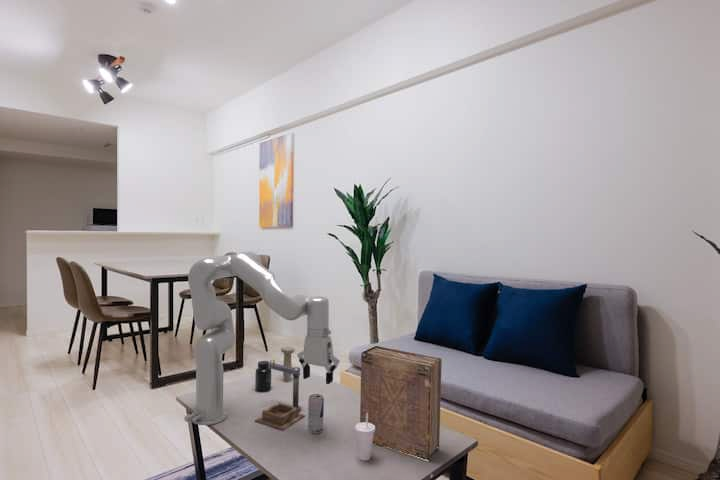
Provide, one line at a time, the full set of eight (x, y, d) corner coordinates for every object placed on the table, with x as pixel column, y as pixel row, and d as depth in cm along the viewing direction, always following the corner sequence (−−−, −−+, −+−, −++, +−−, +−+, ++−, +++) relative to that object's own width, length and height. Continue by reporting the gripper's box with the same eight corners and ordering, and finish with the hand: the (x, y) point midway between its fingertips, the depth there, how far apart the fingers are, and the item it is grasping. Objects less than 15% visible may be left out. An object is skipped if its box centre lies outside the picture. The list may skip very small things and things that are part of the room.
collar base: (282, 431, 144) (283, 392, 143) (254, 421, 150) (255, 384, 150) (312, 412, 159) (313, 377, 159) (286, 404, 165) (286, 370, 165)
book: (439, 449, 134) (442, 358, 133) (428, 462, 126) (431, 366, 125) (373, 428, 147) (374, 345, 146) (359, 438, 139) (361, 351, 139)
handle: (289, 383, 188) (289, 351, 187) (278, 380, 191) (279, 348, 191) (295, 380, 192) (296, 348, 192) (285, 377, 195) (285, 346, 195)
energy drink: (325, 428, 146) (326, 395, 146) (319, 435, 141) (319, 400, 141) (312, 425, 148) (312, 392, 148) (305, 432, 143) (305, 398, 143)
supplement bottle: (269, 385, 185) (269, 359, 184) (272, 391, 178) (272, 364, 178) (254, 387, 182) (254, 360, 182) (256, 393, 176) (256, 365, 175)
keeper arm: (301, 374, 160) (301, 366, 160) (296, 376, 158) (297, 368, 158) (272, 367, 168) (272, 359, 168) (267, 369, 165) (267, 361, 165)
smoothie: (368, 465, 124) (369, 419, 123) (350, 458, 127) (351, 414, 127) (378, 455, 129) (379, 411, 129) (361, 449, 133) (362, 406, 132)
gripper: (344, 332, 143) (344, 381, 143) (304, 327, 151) (304, 373, 152) (332, 337, 136) (332, 388, 137) (291, 331, 145) (291, 379, 145)
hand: (317, 380), depth 144 cm, fingers open, 9 cm apart
